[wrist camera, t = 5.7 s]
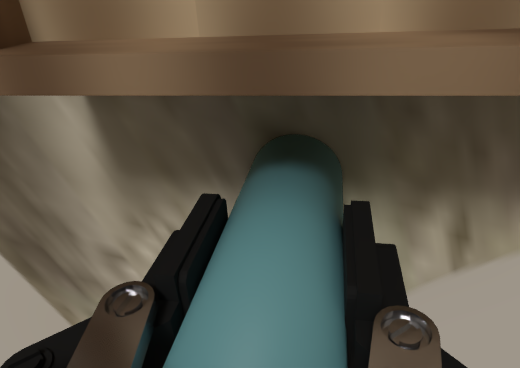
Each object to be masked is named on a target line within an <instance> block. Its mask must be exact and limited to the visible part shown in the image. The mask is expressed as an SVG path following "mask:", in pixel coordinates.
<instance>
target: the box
mask: <svg viewBox="0 0 520 368" xmlns="http://www.w3.org/2000/svg"><path fill="white" fill-rule="evenodd" d="M0 95H105V96H520V0H0Z"/></svg>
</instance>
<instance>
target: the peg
mask: <svg viewBox="0 0 520 368" xmlns="http://www.w3.org/2000/svg"><path fill="white" fill-rule="evenodd" d="M163 368H348V367H347V332H346V327H345V312H344V269H343V188H342V170H341V166H340V163H339V160H338V158H337V157H336V155H335V154H334V152H333V151H332V150H331V149H330V148H329V147H328V146H327V145H325V144H324V143H322V142H321V141H319V140H317V139H315V138H312V137H309V136H305V135H296V134H295V135H285V136H281V137H278V138H276V139H274V140H272V141H270V142H268V143H267V144H266V145H265V146H263V147H262V149H261V150H260V151H259V152H258V154H257V155H256V157H255V159H254V162H253V164H252V166H251V169H250V171H249V173H248V175H247V178H246V180H245V182H244V184H243V187H242V189H241V191H240V193H239V196H238V198H237V200H236V203H235V205H234V207H233V209H232V212H231V214H230V216H229V218H228V221H227V223H226V225H225V227H224V230H223V232H222V234H221V237H220V239H219V241H218V243H217V246H216V248H215V250H214V252H213V255H212V257H211V259H210V262H209V264H208V266H207V268H206V271H205V273H204V275H203V277H202V280H201V282H200V284H199V286H198V289H197V291H196V293H195V296H194V298H193V300H192V302H191V305H190V307H189V309H188V311H187V314H186V316H185V318H184V321H183V323H182V325H181V327H180V330H179V332H178V334H177V336H176V339H175V341H174V343H173V345H172V348H171V350H170V352H169V355H168V357H167V359H166V361H165V364H164V366H163Z"/></svg>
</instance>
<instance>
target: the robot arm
mask: <svg viewBox="0 0 520 368" xmlns="http://www.w3.org/2000/svg"><path fill="white" fill-rule="evenodd" d="M227 221H228V213H227V204H226V200H225V199H221V197H220V195H219V194H202V195H201V196H200V198H199V200H198V201H197V203H196V204H195V206H194V208H193V209H192V211H191V213H190V214H189V216H188V218H187V219H186V221H185V223H184V224H183V226H182V227H181V229H180V230H176V231H174V232H173V233H172V235H171V236H170V238H169V239H168V241H167V242H166V244H165V246H164V247H163V249H162V250H161V252H160V254H159V255H158V257H157V258H156V260H155V262H154V263H153V265H152V266H151V268H150V269H149V271H148V273H147V274H146V276H145V277H144V279H143V281H142V282H140V281H132V282H126V283H123V284H120V285H117V286H116V287H114V288H112V289H110V290H109V291H108V292H107V293H106V294H105V295H104V296H103V297H102V299H101V300H100V302H99V304H98V306H97V308H96V310H95V312H94V314H93V316H92V317H91V318H89V319H86V320H84V321H82V322H80V323H78V324H76V325H73V326H71V327H69V328H67V329H65V330H63V331H61V332H58V333H56V334H54V335H52V336H50V337H48V338H45V339H43V340H41V341H39V342H37V343H35V344H33V345H31V346H28V347H26V348H24V349H22V350H21V351H19V352H17V353H15V354H14V355H13V356H11V357H10V358H9V359H8V360H7V361H5V363H4V364H3V365H2V366H1V367H0V368H163V366H164V364H165V361H166V359H167V357H168V355H169V352H170V350H171V348H172V345H173V343H174V341H175V339H176V336H177V334H178V332H179V330H180V327H181V325H182V323H183V321H184V318H185V316H186V314H187V311H188V309H189V307H190V305H191V302H192V300H193V298H194V296H195V293H196V291H197V289H198V286H199V284H200V282H201V280H202V277H203V275H204V273H205V271H206V268H207V266H208V264H209V262H210V259H211V257H212V255H213V252H214V250H215V248H216V246H217V243H218V241H219V239H220V237H221V234H222V232H223V230H224V227H225V225H226V223H227ZM343 269H344V312H345V327H346V332H347V367H348V368H467V367H466V366H464V365H463V364H461V363H460V362H459V361H458V360H456V359H455V358H454V357H452V356H451V355H450V354H448V353H447V352H445V351H444V350H443V349H442V348H441V347H440V336H439V332H438V329H437V327H436V325H435V324H434V322H433V321H432V320H431V319H430V318H428V317H427V316H426V315H425V314H423V313H421V312H420V311H418V310H416V309H413V308H410V307H409V305H408V300H407V295H406V291H405V286H404V282H403V277H402V272H401V268H400V263H399V258H398V254H397V249H396V246H395V245H394V244H381V243H375V237H374V230H373V223H372V216H371V209H370V202H369V201H351V205H344V214H343Z"/></svg>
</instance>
